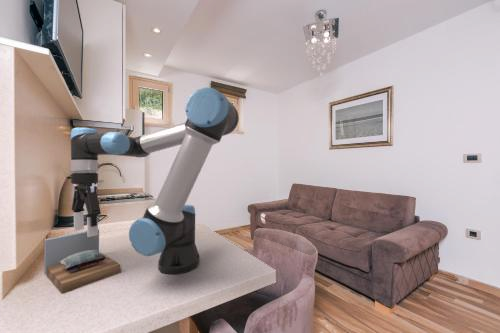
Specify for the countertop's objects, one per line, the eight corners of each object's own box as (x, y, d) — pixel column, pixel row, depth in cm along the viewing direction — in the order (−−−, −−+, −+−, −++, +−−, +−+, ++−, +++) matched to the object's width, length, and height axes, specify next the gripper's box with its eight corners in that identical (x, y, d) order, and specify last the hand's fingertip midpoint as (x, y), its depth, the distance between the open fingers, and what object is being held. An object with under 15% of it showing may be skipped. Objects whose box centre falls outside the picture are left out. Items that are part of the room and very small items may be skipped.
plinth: (120, 272, 75) (120, 264, 75) (61, 294, 62) (61, 283, 62) (100, 260, 86) (100, 252, 86) (46, 276, 73) (46, 267, 73)
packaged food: (58, 268, 72) (58, 254, 72) (99, 257, 81) (99, 244, 81) (64, 276, 67) (64, 261, 67) (107, 263, 76) (108, 250, 76)
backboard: (98, 259, 87) (99, 229, 87) (45, 274, 74) (45, 240, 74) (97, 257, 88) (97, 229, 88) (44, 273, 75) (44, 239, 75)
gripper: (111, 171, 70) (112, 235, 70) (85, 172, 85) (85, 225, 85) (84, 172, 64) (84, 242, 64) (60, 172, 79) (61, 230, 79)
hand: (85, 232), depth 74 cm, fingers open, 13 cm apart
